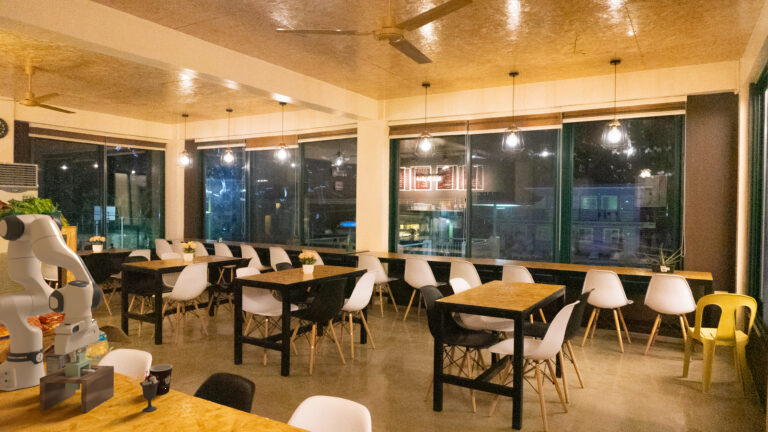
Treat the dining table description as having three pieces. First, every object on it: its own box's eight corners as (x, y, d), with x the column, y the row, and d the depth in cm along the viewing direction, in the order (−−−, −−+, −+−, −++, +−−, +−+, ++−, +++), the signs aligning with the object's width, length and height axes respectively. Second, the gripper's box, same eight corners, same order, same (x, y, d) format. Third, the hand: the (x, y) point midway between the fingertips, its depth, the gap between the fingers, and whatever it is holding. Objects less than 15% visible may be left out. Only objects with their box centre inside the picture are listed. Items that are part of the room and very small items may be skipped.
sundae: (139, 414, 178) (140, 373, 177) (139, 407, 184) (139, 368, 183) (159, 411, 181) (160, 370, 180) (158, 404, 187) (159, 365, 186)
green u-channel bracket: (65, 389, 184) (65, 356, 184) (78, 382, 191) (78, 350, 191) (78, 389, 183) (78, 356, 183) (90, 383, 190) (90, 351, 190)
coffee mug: (167, 386, 206) (167, 362, 205) (175, 392, 199) (175, 367, 199) (137, 393, 197) (138, 369, 197) (145, 399, 191) (145, 374, 191)
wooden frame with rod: (39, 410, 180) (39, 375, 180) (70, 394, 196) (70, 362, 196) (86, 412, 179) (86, 377, 178) (113, 396, 195) (113, 363, 194)
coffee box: (65, 387, 203) (65, 348, 203) (78, 388, 202) (78, 350, 202) (45, 395, 194) (45, 355, 194) (59, 397, 193) (59, 356, 193)
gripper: (88, 317, 197) (88, 351, 198) (50, 330, 177) (50, 368, 177) (103, 318, 197) (103, 352, 197) (67, 330, 177) (67, 368, 177)
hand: (78, 359), depth 187 cm, fingers closed on green u-channel bracket, 3 cm apart
